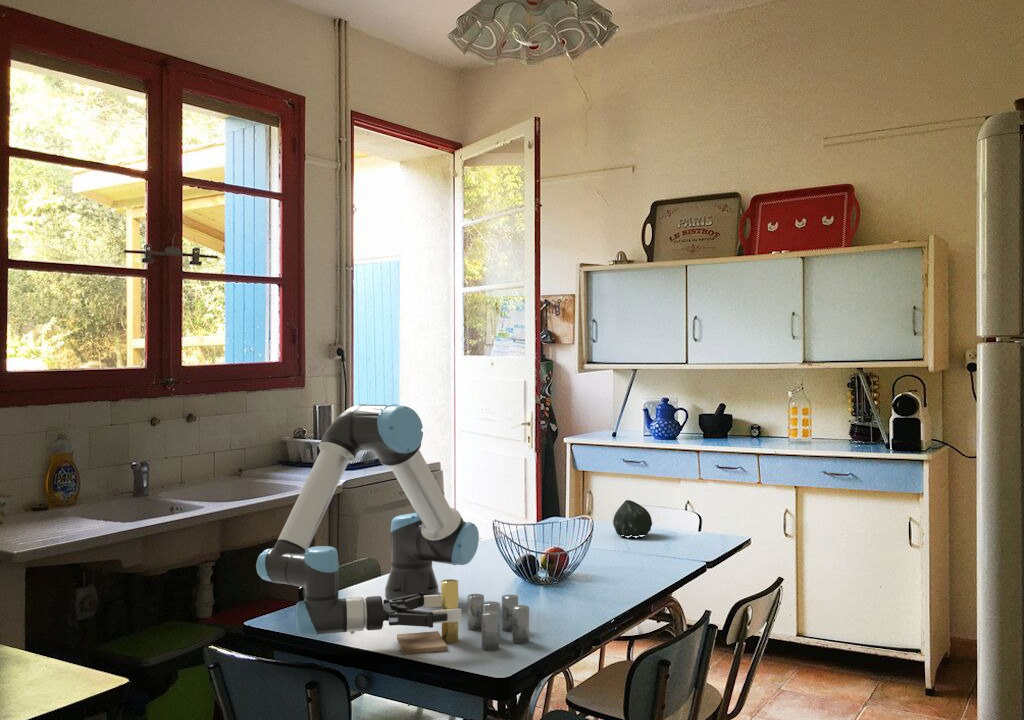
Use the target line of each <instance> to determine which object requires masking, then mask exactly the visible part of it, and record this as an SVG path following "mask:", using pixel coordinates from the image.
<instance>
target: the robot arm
mask: <svg viewBox="0 0 1024 720" xmlns="http://www.w3.org/2000/svg"><path fill="white" fill-rule="evenodd" d="M423 428H424V427H423V424H422V420H421V418H420V415H419V414H418V413H417V411H415V410H414V409H413V408H411V407H410V406H406V405H400V404H357V405H352V406H350V407H349V408H347V409H346V410H344V411H343V412H341V413H340V414H339V415H338V416H337V417H336V418H335V419H334V420H333V421H332V423H331V424H330V425H329V427H328V428H327V429H326V431H325V433H324V435H323V436H322V438H321V440H320V442H319V444H318V449H319V453H318V456H317V458H316V460H315V462H314V463H313V466H312V468H311V471H310V472H309V474H308V476H307V478H306V479H305V483H304V484H303V487H302V488H301V491H300V493H299V494H298V497H297V499H296V501H295V503H294V505H293V507H292V509H291V511H290V513H289V514H288V515H289V516H288V517H287V519H286V522H285V524H284V526H283V527H282V529H281V532H280V534H279V537H278V538H277V541H276V543H275V545H274V546H273V547H272V548H267V549H264V550H263V551H262V553H261V552H260V554H259V555H258V557H257V560H256V564H255V567H256V572H257V575H258V576H259V577H260V578H261V579H262V580H263V581H267V582H271V583H273V584H282V585H283V584H285V585H290V586H295V587H300V588H304V600H301V601H298V602H297V603H296V605H295V606H296V611H295V612H296V615H295V616H296V617H295V618H296V619H295V620H296V632H297V633H298V635H301V636H313V635H315V636H319V635H326V634H327V635H328V634H339V633H350V634H351V635H353V634H355V632H364V630H365V629H366V630H367V631H378V630H382V629H383V626H384V622H388V626H390V627H391V626H410V627H422V628H423V627H424V628H425V627H426V628H433V627H434V624H442V623H445V622H457V621H458V622H462V608H458V609H447V610H441V609H437V610H436V609H435V610H432V611H424V610H418V608H421V607H423V608H438V607H441V593H440V594H439V589H440V588H439V583H438V581H437V577H436V575H435V571H434V568H433V563H439V564H448V565H453V566H465V565H468V564H469V563H470V562H471V561H472V560H473V558H474V557H475V556H476V554H477V551H478V547H479V540H480V533H479V529H478V527H477V525H476V524H475V523H473V522H471V521H467V522H466V521H464V518H463V516H462V515H461V513H460V512H459V511H458V510H457V509H456V508H453V507H451V506H450V505H449V503H448V501H447V499H446V497H445V496H444V493H443V491H442V489H441V488H440V485H439V483H438V482H437V480H436V479H435V477H434V475H433V473H432V471H431V469H430V468H429V466H428V464H427V462H426V460H425V458H424V456H423V455H422V452H421V450H420V449H421V447H422V441H423V437H424V432H423V431H422V430H423ZM361 451H370V452H371V451H372V452H374V453H375V455H376V457H377V458H378V460H379V462H380V464H381V465H383V466H385V467H390V469H391V471H392V473H393V474H394V476H395V478H396V480H397V481H398V483H399V485H400V486H401V487H400V488H401V489H402V490H403V492H404V494H405V496H406V497H407V499H408V501H409V502H410V504H411V506H412V508H413V510H414V511H415V512H412V513H406V514H400V515H397V516H394V517H393V518H392V519H391V523H390V561H391V564H390V565H391V567H390V572H389V575H388V578H387V580H386V585H385V588H384V597H385V599H383V598H382V596H381V595H374V596H366V597H365V599H364V598H363V597H362V596H359V597H358V596H357V597H356V596H355V597H346V598H339V580H340V579H339V578H340V577H339V575H340V573H339V570H340V563H339V554H338V553H339V551H338V550H337V549H336V547H334V546H330V545H329V546H328V545H324V546H323V545H317V546H311V547H310V545H311V544H312V541H313V539H314V537H315V534H316V533H317V530H318V528H319V526H320V524H321V522H322V520H323V517H324V515H325V513H326V511H327V510H328V507H329V505H330V503H331V500H332V499H333V496H334V494H335V491H336V490H337V488H338V485H339V483H340V481H341V479H342V477H343V475H344V472H345V470H346V468H347V466H348V465H349V464H350V463H353V462H354V461H355V459H356V456H357V455H358V453H359V452H361ZM416 609H417V610H416Z"/></svg>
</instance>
